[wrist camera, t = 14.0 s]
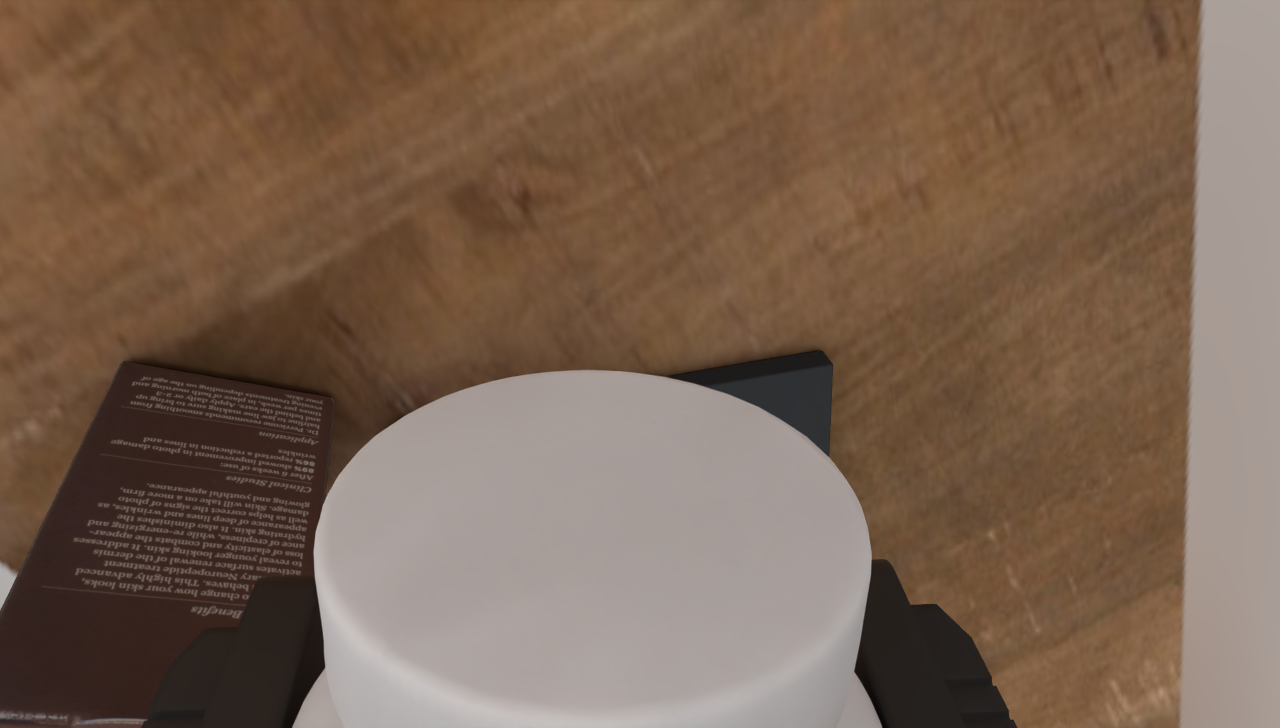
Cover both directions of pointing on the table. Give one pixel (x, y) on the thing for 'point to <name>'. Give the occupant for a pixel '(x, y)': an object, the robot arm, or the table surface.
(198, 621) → the box
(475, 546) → the supplement bottle
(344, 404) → the table surface
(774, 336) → the table surface
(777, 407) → the charcoal mat
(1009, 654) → the table surface
